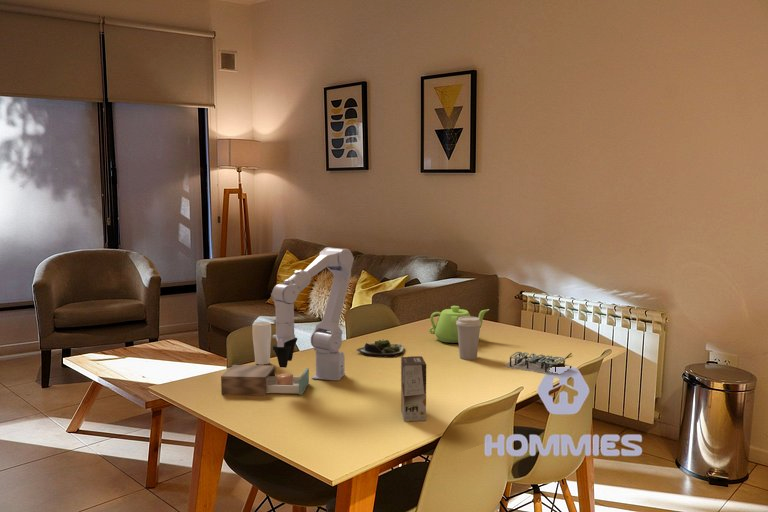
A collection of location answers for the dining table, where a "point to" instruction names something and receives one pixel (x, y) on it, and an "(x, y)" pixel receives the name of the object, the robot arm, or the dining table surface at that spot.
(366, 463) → the dining table surface
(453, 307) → the teapot
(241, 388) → the cabinet
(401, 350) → the salad plate
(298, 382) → the tray
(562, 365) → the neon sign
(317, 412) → the dining table surface
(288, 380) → the puck
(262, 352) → the white tall block
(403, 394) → the coffee box
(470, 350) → the coffee cup
